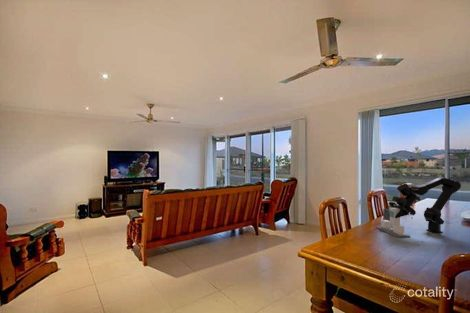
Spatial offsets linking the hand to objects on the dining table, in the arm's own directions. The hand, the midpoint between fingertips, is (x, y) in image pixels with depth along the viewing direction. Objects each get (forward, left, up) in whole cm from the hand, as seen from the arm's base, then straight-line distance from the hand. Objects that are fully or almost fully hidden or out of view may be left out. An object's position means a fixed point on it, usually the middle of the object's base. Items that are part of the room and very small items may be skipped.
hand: (392, 216), depth 158 cm
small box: (-15, -19, -11) cm, 27 cm away
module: (-1, 0, -7) cm, 7 cm away
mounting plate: (+1, 0, -10) cm, 10 cm away
